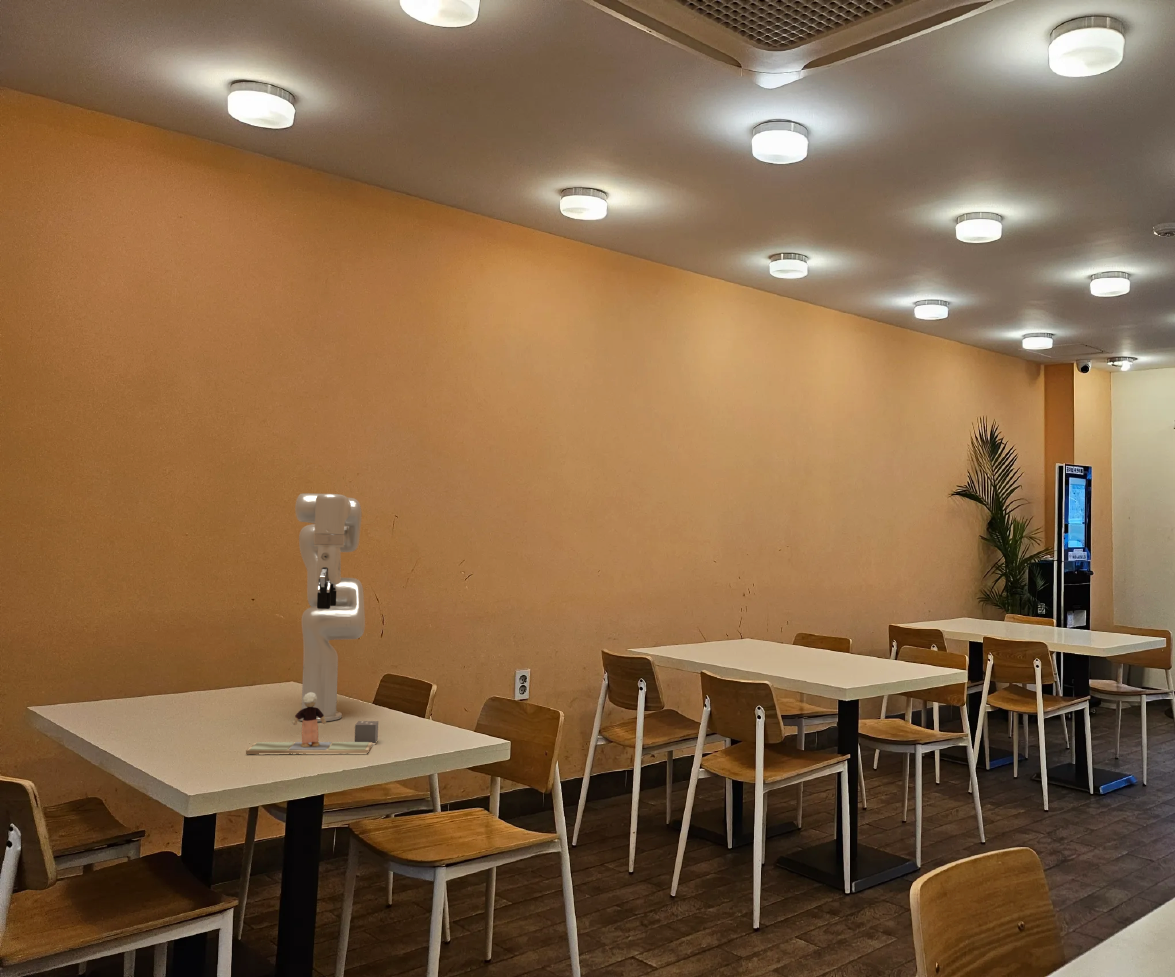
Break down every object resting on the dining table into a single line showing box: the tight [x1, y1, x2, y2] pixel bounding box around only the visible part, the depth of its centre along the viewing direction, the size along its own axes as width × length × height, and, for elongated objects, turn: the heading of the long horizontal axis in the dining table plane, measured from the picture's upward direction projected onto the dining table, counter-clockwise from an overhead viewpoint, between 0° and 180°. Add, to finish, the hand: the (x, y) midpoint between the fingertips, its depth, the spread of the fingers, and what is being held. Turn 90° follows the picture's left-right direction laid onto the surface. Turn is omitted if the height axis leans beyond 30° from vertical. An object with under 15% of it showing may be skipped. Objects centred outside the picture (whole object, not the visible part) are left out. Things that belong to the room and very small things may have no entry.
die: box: [354, 720, 379, 744], centre depth 240 cm, size 5×5×5 cm
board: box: [245, 741, 373, 755], centre depth 229 cm, size 9×28×1 cm, turn 96°
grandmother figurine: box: [292, 692, 327, 747], centre depth 229 cm, size 8×4×13 cm, turn 127°
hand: (326, 607), depth 248 cm, fingers open, 9 cm apart
